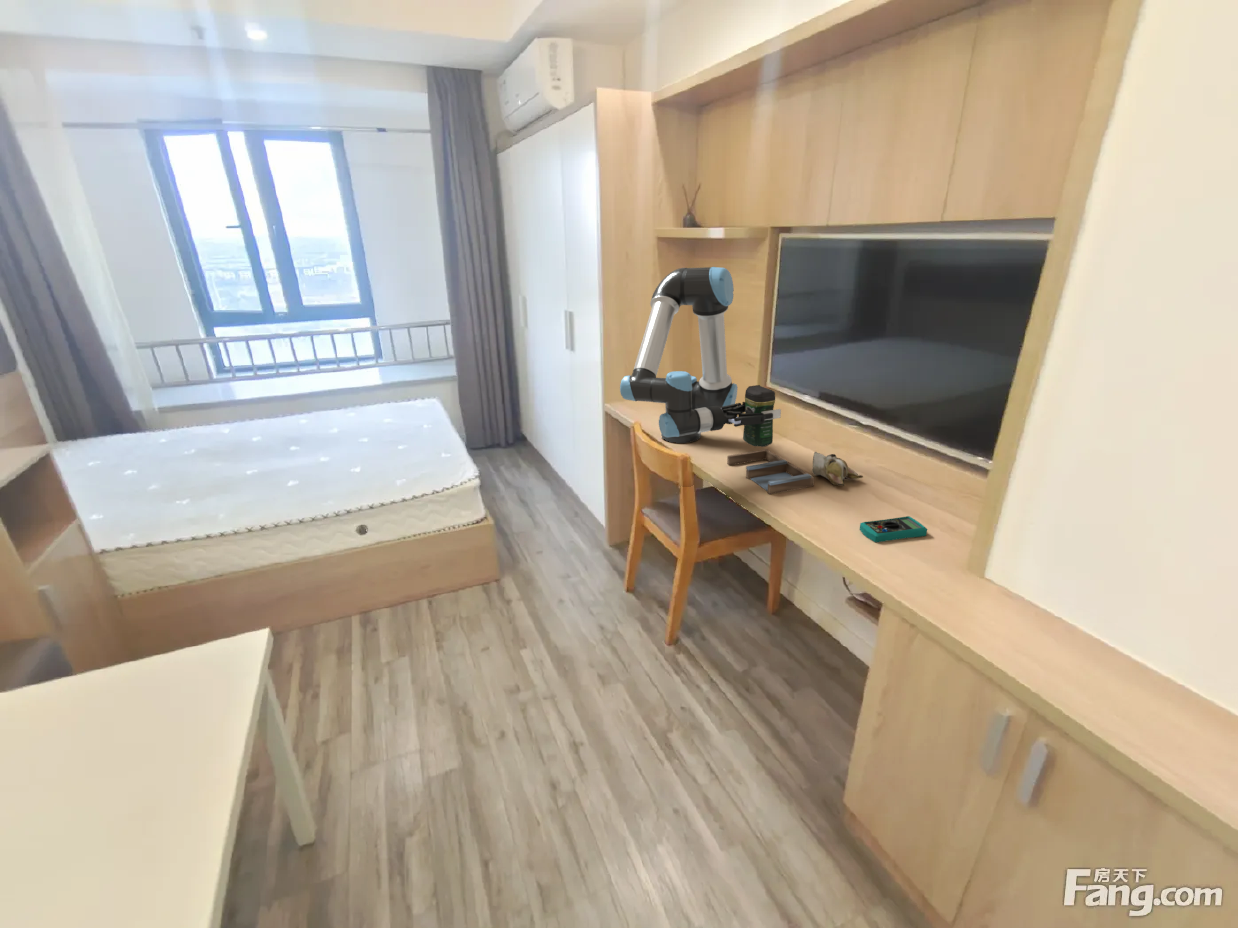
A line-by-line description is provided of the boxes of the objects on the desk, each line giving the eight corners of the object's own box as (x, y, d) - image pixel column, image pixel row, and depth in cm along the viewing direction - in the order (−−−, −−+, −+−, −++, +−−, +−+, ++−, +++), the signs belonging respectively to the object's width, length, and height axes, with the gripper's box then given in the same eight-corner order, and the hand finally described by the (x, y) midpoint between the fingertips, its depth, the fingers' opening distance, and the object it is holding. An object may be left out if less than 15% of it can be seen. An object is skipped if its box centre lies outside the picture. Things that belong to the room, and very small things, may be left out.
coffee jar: (776, 445, 178) (780, 389, 171) (755, 449, 176) (758, 392, 168) (759, 436, 186) (762, 382, 179) (739, 439, 184) (741, 385, 177)
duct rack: (727, 464, 188) (727, 453, 187) (766, 457, 193) (767, 447, 191) (770, 494, 165) (770, 483, 164) (813, 486, 169) (814, 474, 168)
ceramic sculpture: (826, 443, 178) (867, 459, 167) (822, 467, 182) (862, 484, 171) (804, 451, 173) (845, 468, 162) (800, 475, 177) (841, 494, 165)
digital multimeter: (856, 530, 144) (857, 520, 143) (908, 524, 146) (910, 514, 145) (873, 545, 137) (874, 534, 136) (927, 537, 140) (929, 527, 138)
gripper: (693, 421, 183) (754, 412, 189) (723, 441, 164) (790, 430, 170) (693, 399, 180) (755, 390, 186) (724, 417, 161) (792, 406, 167)
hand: (772, 409), depth 178 cm, fingers closed on coffee jar, 8 cm apart
